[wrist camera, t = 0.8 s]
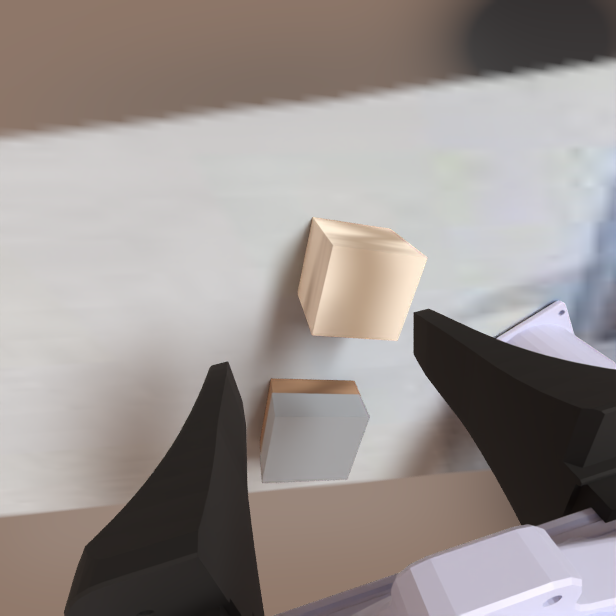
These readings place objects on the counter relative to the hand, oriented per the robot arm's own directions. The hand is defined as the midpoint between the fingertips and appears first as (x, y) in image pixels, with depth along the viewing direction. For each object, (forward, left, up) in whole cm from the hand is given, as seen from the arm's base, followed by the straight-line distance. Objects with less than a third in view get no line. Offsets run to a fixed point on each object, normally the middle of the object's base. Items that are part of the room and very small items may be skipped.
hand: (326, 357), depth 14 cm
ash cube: (-2, -3, -10) cm, 10 cm away
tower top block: (-11, +6, -8) cm, 15 cm away
